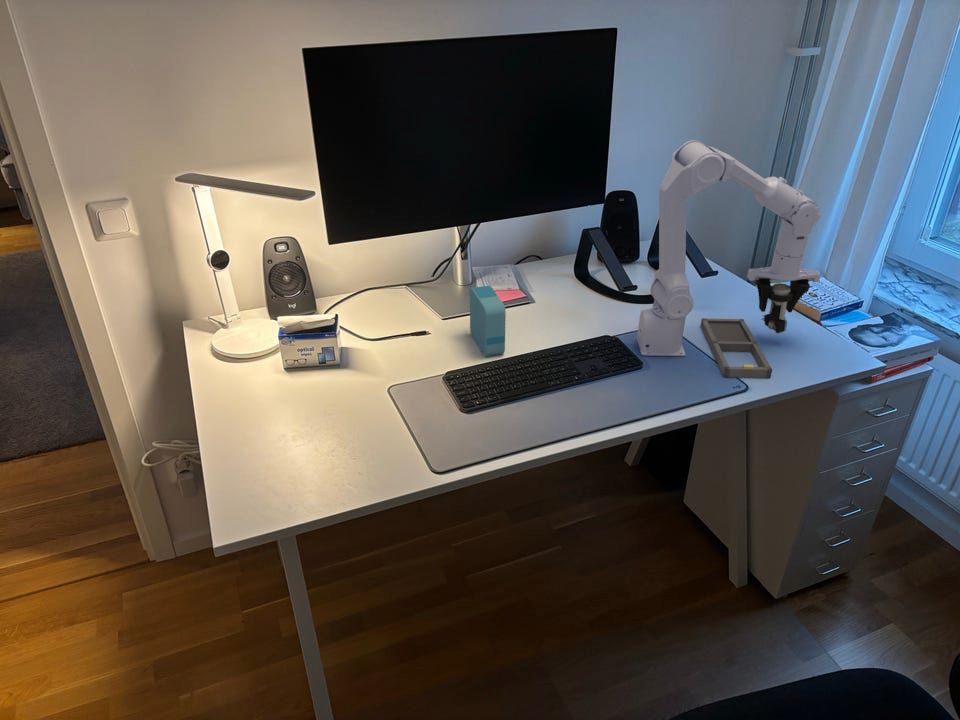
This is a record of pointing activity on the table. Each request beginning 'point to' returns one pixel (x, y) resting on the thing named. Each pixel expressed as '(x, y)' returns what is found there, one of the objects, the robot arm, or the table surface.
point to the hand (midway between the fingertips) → (775, 310)
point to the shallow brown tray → (734, 347)
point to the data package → (487, 320)
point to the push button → (778, 307)
